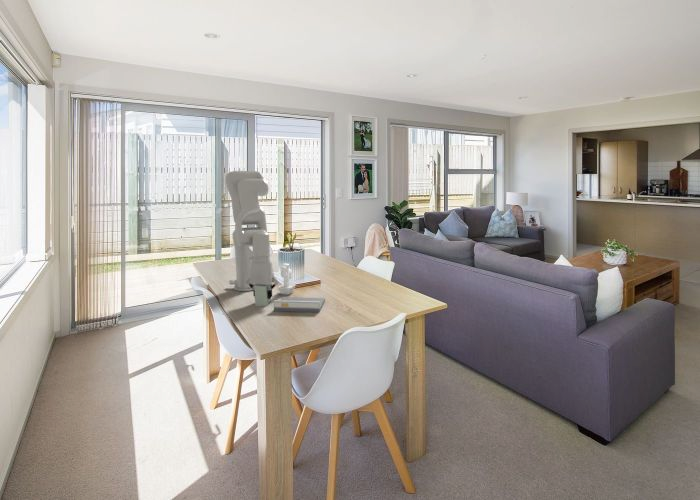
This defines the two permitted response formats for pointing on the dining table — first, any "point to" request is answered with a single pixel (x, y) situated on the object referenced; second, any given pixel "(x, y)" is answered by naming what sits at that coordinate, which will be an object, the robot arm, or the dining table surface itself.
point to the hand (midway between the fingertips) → (263, 297)
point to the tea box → (261, 295)
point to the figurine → (286, 280)
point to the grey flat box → (299, 304)
